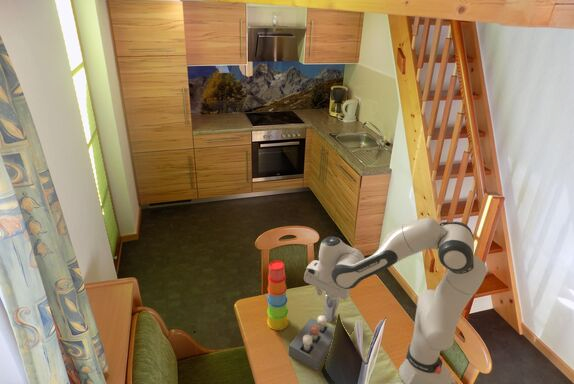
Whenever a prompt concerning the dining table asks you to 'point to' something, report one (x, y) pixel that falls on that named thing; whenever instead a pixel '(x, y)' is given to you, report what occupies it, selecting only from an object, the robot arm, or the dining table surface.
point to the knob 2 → (321, 322)
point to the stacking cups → (277, 296)
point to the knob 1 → (307, 342)
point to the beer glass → (330, 307)
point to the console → (312, 345)
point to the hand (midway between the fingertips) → (324, 296)
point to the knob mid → (314, 332)
